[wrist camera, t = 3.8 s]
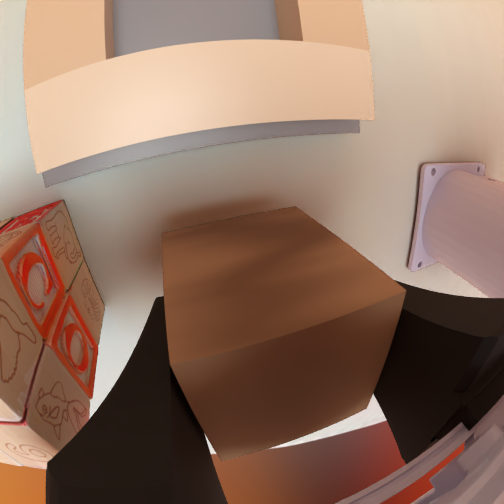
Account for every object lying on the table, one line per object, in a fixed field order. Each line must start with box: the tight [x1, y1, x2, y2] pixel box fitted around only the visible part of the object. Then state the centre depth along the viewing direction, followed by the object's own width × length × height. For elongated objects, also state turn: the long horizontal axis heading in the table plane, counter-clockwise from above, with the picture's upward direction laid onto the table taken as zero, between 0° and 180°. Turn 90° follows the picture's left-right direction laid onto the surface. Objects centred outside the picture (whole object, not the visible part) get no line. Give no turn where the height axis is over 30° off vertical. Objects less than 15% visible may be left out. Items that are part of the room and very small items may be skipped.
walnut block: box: [162, 206, 406, 461], centre depth 9 cm, size 5×5×6 cm
